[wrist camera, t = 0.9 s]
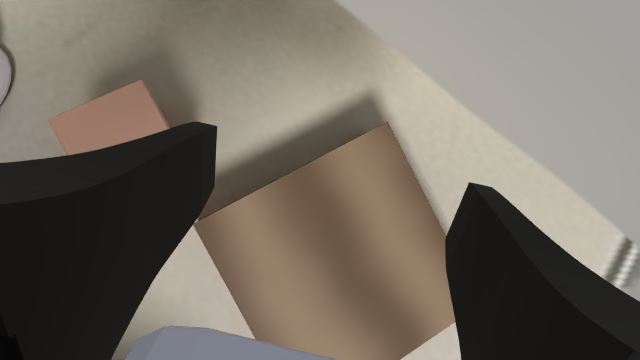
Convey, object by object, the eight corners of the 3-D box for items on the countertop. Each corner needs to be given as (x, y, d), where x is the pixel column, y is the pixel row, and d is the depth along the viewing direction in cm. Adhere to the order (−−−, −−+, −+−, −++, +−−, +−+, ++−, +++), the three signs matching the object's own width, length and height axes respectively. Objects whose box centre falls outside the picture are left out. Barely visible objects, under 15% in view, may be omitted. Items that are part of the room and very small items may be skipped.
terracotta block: (122, 205, 24) (95, 205, 19) (84, 136, 24) (47, 119, 19) (193, 170, 25) (185, 161, 20) (157, 103, 25) (140, 79, 20)
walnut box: (292, 395, 25) (303, 425, 22) (197, 221, 25) (192, 224, 21) (449, 292, 28) (480, 304, 25) (367, 131, 27) (387, 121, 24)
